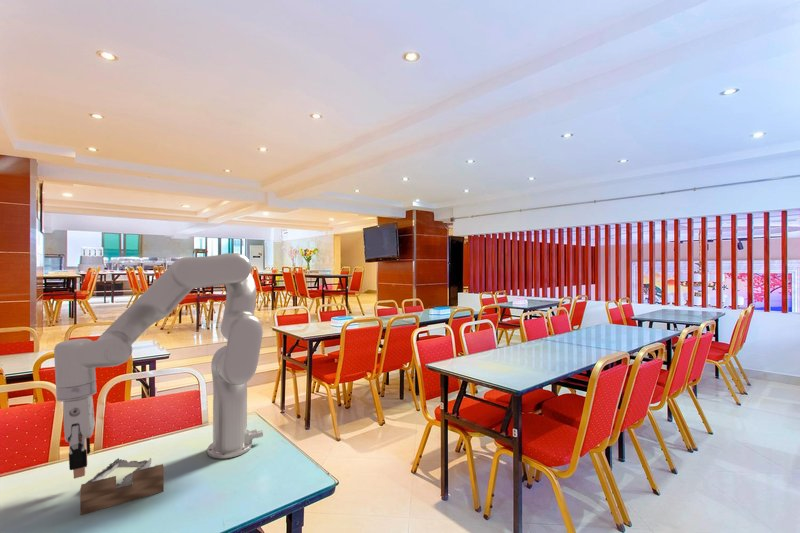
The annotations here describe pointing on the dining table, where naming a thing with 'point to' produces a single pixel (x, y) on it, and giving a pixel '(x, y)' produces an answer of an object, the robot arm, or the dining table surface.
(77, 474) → the terracotta board
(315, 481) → the dining table surface
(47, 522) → the dining table surface
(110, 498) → the walnut base board
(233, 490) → the dining table surface
